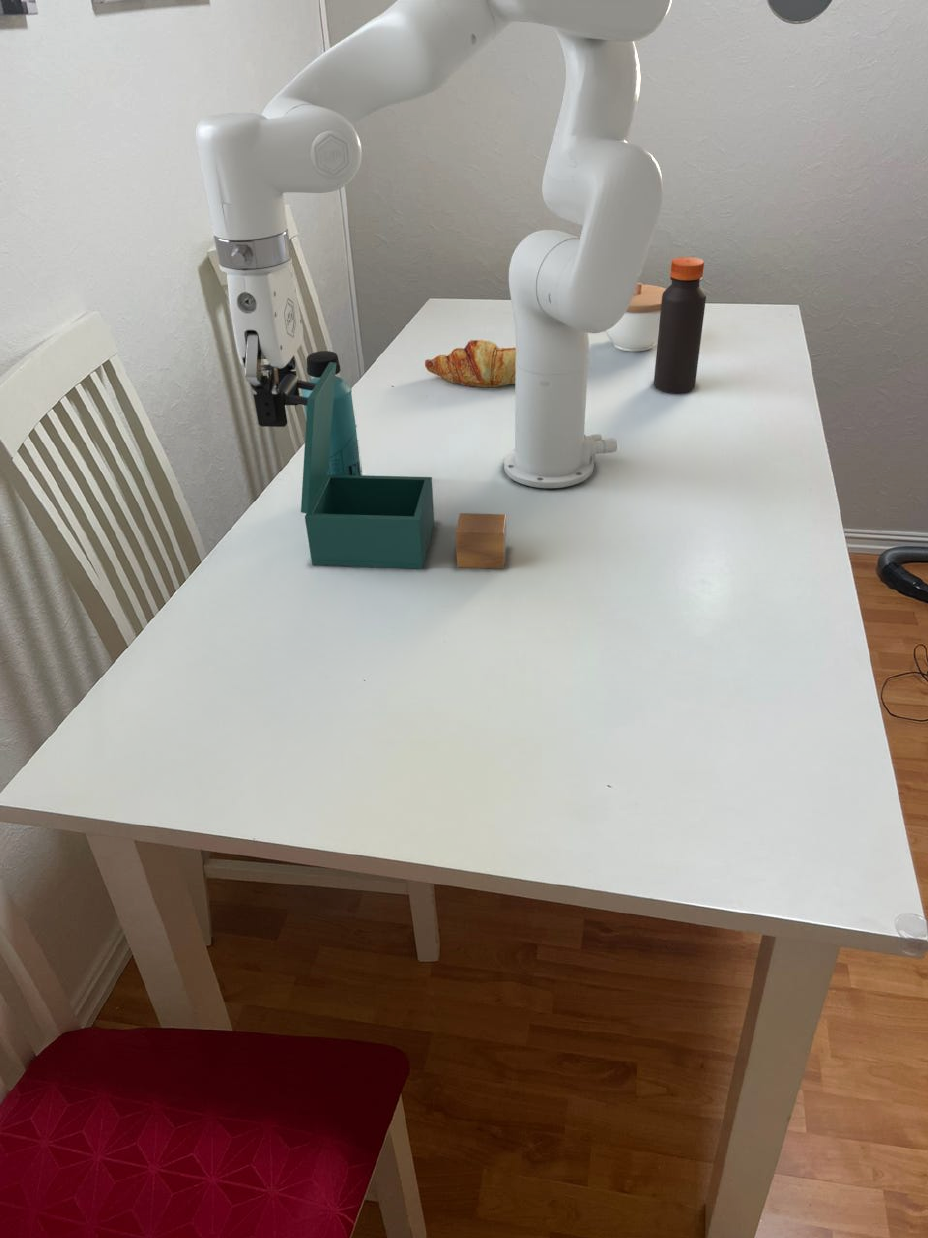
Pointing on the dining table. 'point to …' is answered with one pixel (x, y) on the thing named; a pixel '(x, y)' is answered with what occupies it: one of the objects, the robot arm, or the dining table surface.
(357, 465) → the beverage bottle
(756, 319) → the dining table surface
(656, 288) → the lidded bowl
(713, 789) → the dining table surface
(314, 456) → the lunchbox lid
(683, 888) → the dining table surface
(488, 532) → the block
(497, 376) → the croissant
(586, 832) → the dining table surface
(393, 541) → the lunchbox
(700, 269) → the vinegar
